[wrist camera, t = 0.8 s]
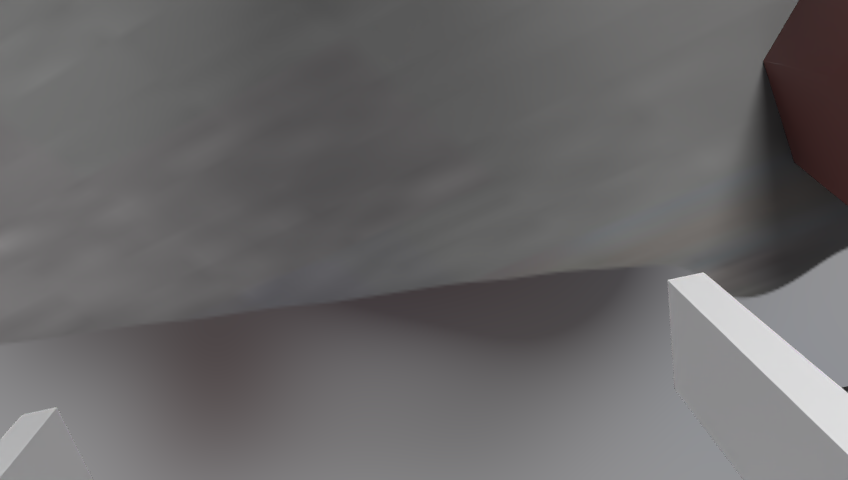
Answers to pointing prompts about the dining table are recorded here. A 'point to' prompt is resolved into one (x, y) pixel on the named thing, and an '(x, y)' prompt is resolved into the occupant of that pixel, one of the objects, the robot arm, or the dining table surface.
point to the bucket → (814, 89)
